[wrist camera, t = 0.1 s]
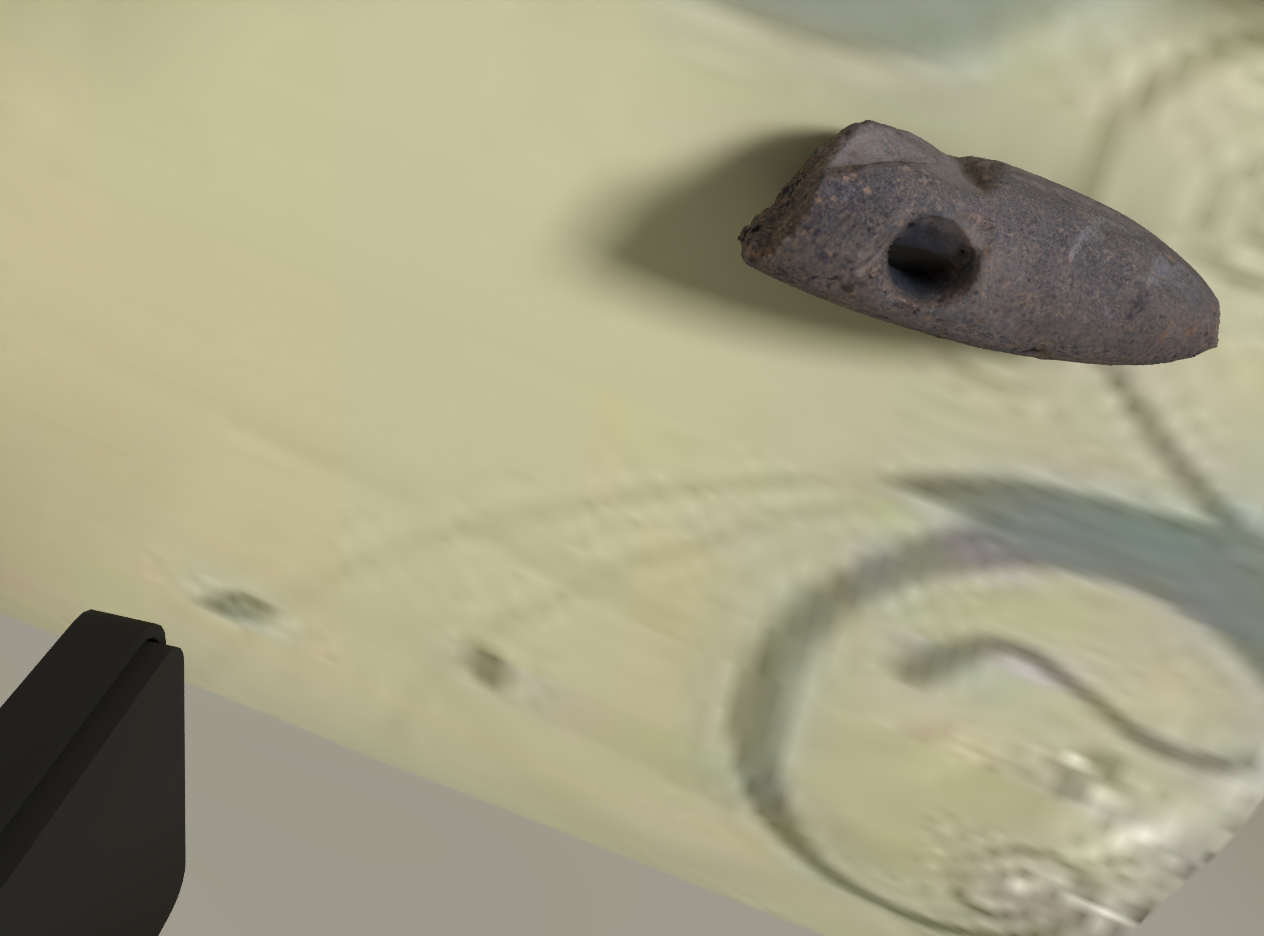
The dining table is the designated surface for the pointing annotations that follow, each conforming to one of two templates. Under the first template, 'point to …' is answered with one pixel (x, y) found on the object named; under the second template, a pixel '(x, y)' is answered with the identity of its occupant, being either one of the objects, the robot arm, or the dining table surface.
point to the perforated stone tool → (979, 255)
